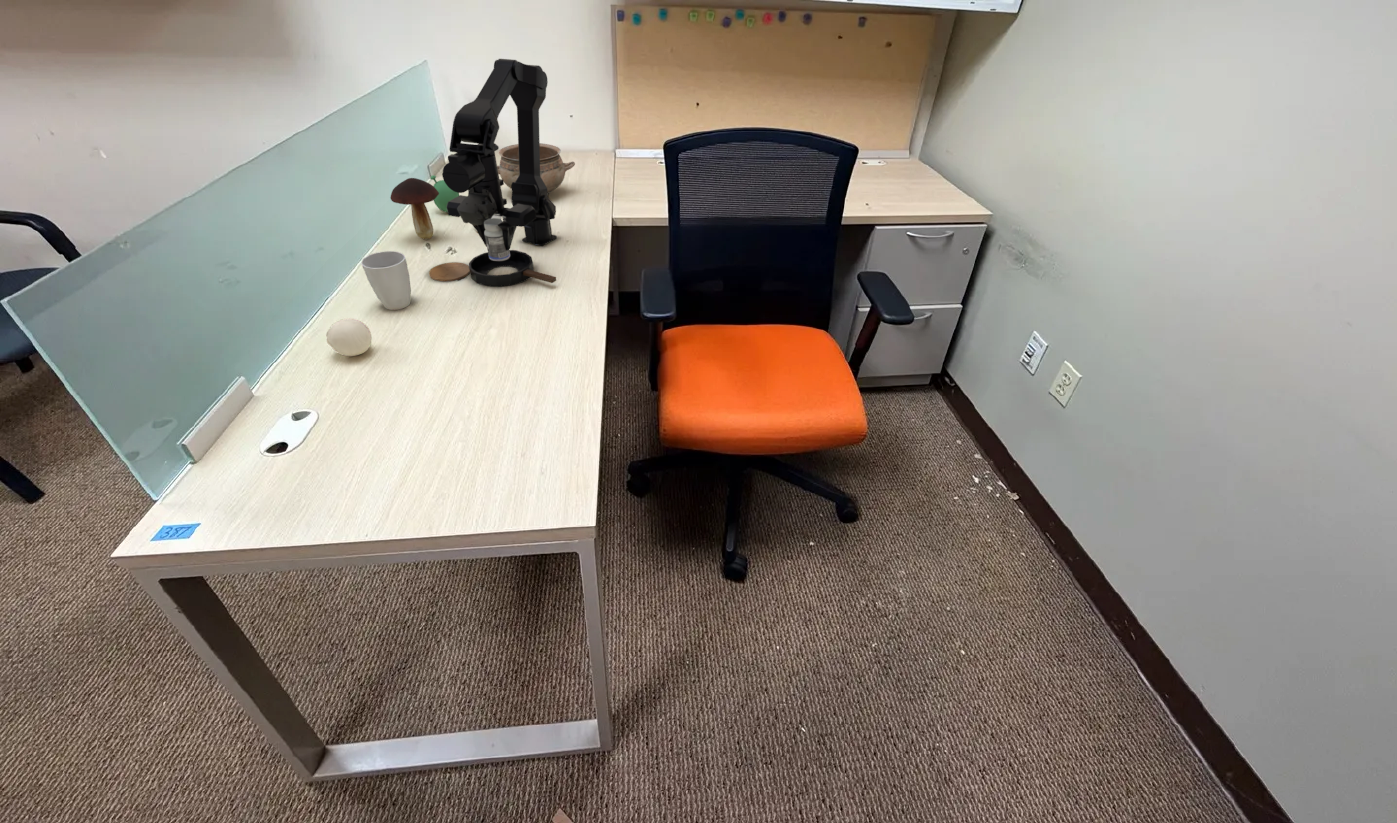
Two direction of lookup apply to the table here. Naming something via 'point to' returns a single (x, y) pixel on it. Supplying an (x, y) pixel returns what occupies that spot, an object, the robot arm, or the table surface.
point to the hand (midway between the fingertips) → (498, 248)
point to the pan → (516, 260)
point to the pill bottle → (495, 240)
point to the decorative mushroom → (417, 203)
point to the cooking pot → (549, 165)
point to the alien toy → (443, 194)
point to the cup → (389, 278)
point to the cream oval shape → (349, 337)
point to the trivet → (449, 271)
